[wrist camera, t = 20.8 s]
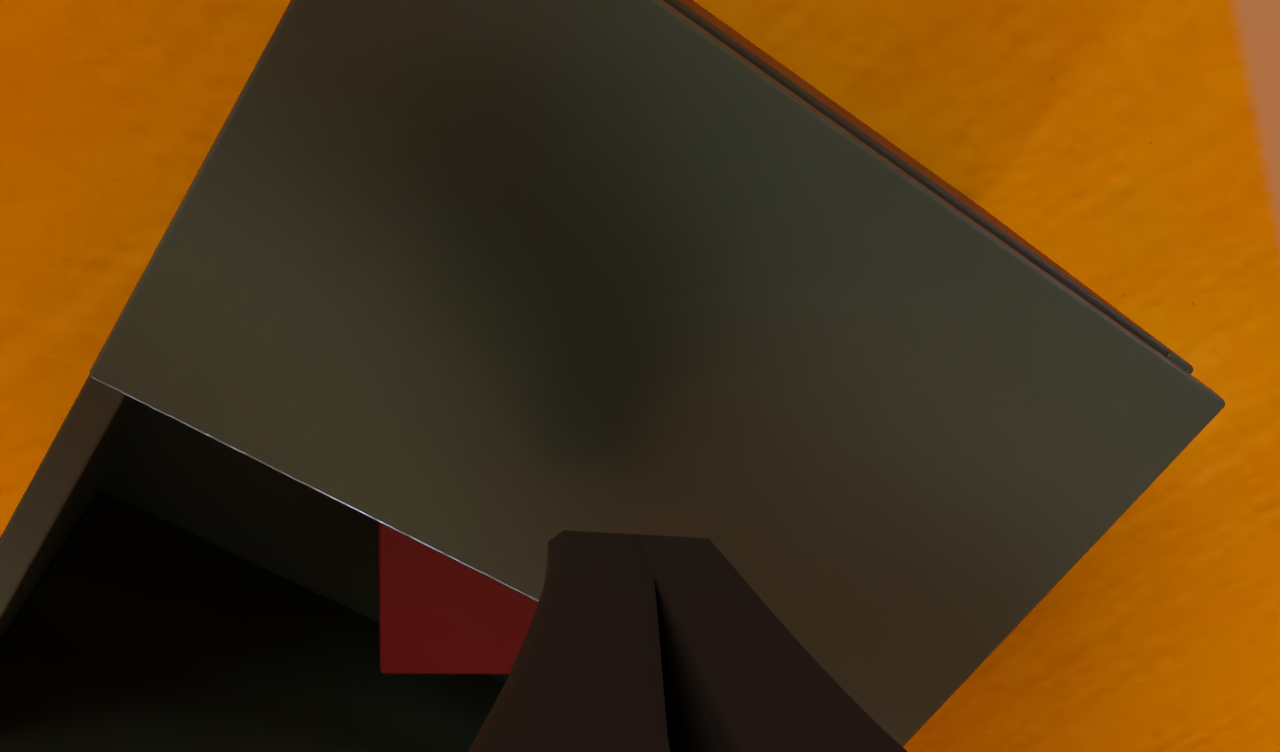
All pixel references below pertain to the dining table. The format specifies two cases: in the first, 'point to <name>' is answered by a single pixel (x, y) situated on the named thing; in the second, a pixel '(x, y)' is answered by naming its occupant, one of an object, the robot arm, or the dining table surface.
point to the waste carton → (248, 576)
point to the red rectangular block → (444, 613)
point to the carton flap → (642, 329)
